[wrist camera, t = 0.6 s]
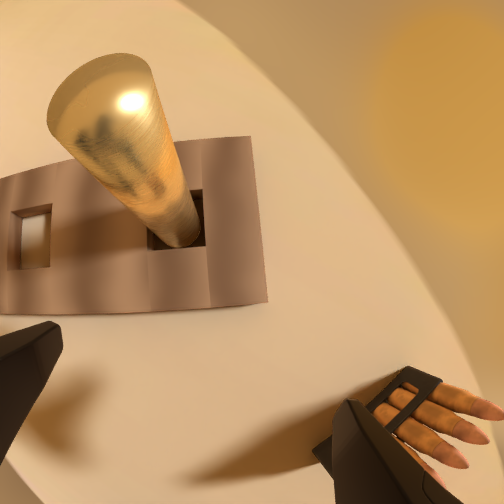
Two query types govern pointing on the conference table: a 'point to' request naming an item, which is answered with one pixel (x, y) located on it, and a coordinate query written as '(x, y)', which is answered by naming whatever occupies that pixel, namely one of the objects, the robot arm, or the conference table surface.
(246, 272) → the block
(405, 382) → the ammunition clip
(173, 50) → the conference table surface
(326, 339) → the conference table surface
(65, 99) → the brass peg
